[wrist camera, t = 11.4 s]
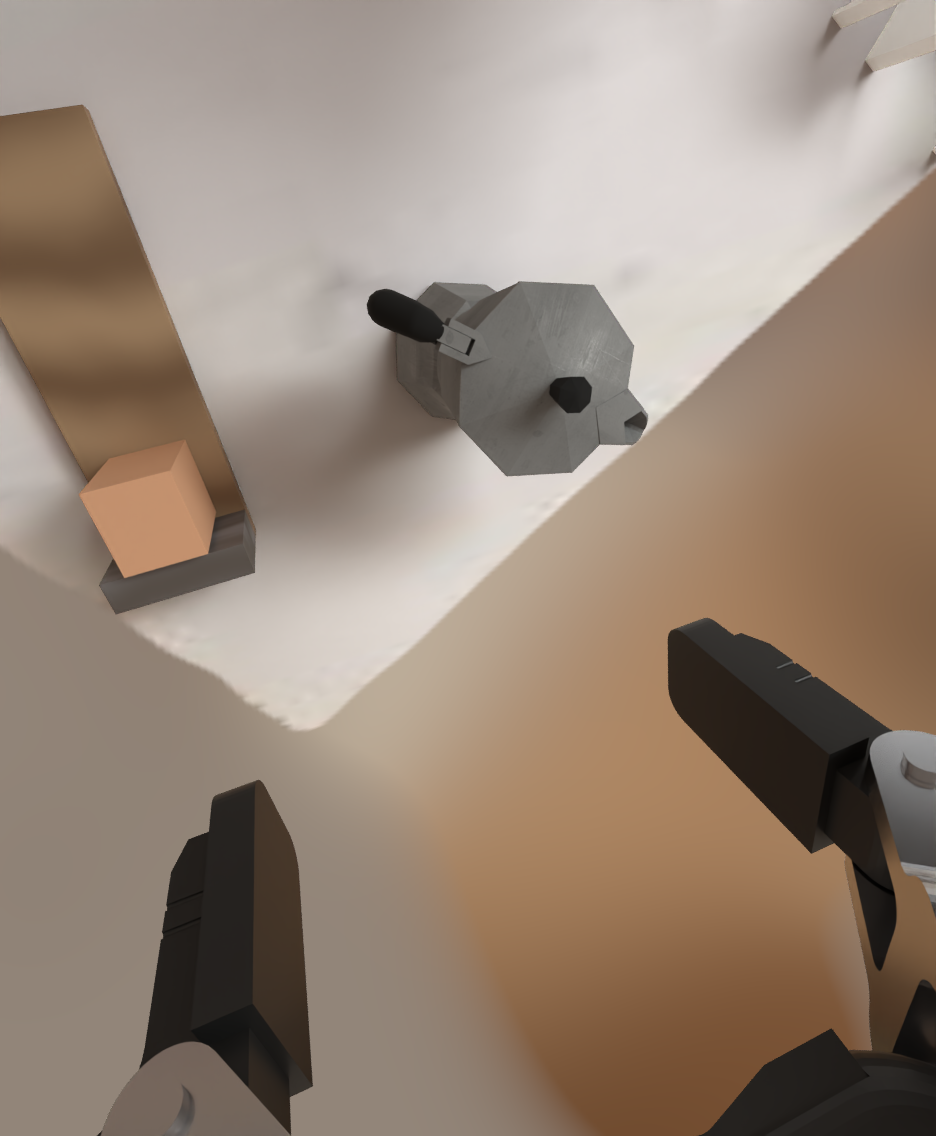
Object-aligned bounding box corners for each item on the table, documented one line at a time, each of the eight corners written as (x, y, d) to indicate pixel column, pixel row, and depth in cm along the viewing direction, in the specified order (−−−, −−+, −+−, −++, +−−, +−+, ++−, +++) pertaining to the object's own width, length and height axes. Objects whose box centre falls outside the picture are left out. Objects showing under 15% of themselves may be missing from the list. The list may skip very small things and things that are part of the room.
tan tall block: (109, 458, 35) (78, 494, 29) (185, 439, 36) (170, 470, 30) (145, 531, 38) (124, 578, 32) (216, 511, 39) (208, 553, 33)
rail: (-87, 135, 28) (-184, 95, 22) (88, 110, 30) (43, 66, 23) (138, 562, 40) (115, 614, 34) (255, 529, 41) (254, 572, 35)
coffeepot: (562, 326, 42) (737, 352, 27) (507, 447, 45) (638, 535, 29) (360, 216, 35) (438, 165, 20) (310, 367, 38) (345, 425, 23)
